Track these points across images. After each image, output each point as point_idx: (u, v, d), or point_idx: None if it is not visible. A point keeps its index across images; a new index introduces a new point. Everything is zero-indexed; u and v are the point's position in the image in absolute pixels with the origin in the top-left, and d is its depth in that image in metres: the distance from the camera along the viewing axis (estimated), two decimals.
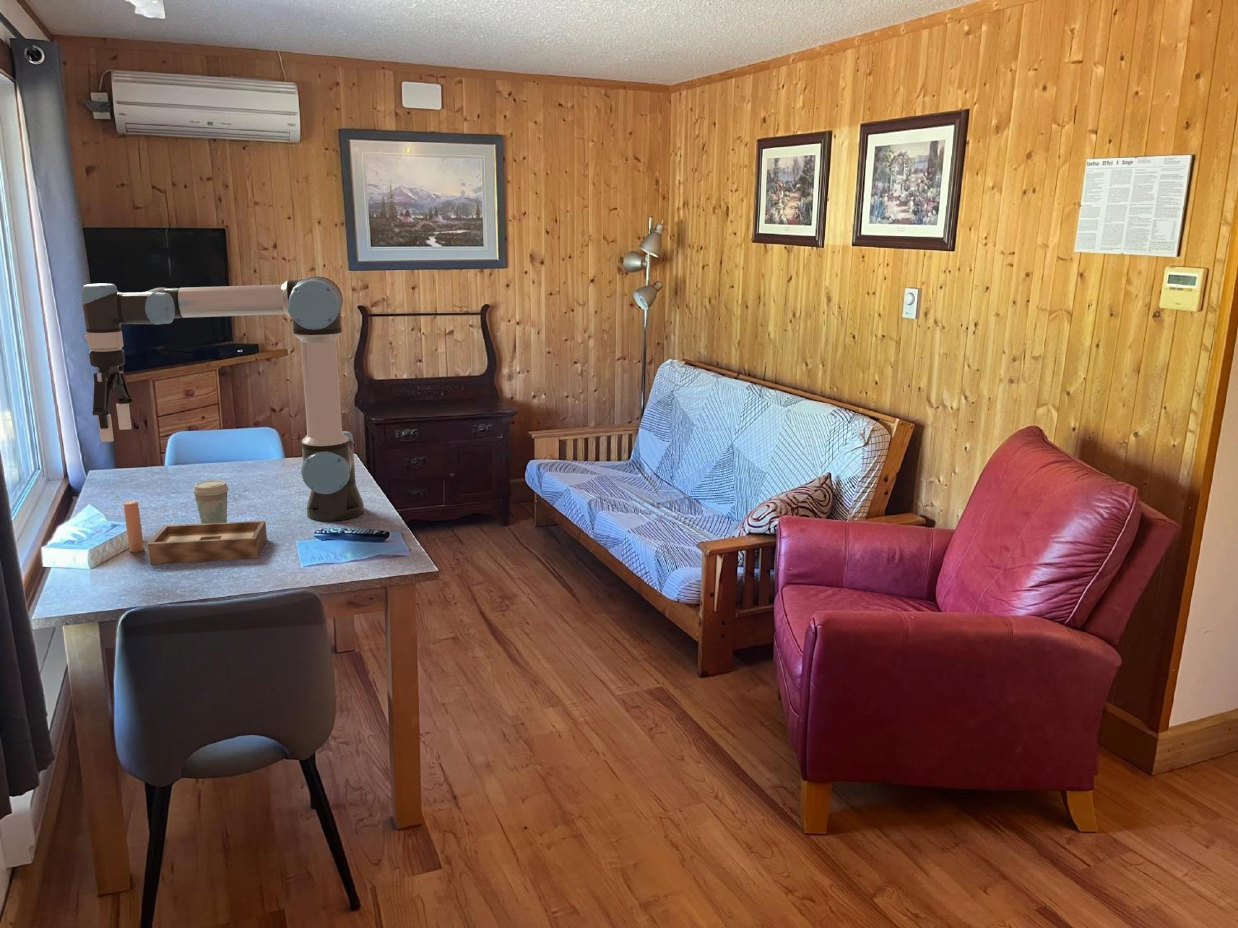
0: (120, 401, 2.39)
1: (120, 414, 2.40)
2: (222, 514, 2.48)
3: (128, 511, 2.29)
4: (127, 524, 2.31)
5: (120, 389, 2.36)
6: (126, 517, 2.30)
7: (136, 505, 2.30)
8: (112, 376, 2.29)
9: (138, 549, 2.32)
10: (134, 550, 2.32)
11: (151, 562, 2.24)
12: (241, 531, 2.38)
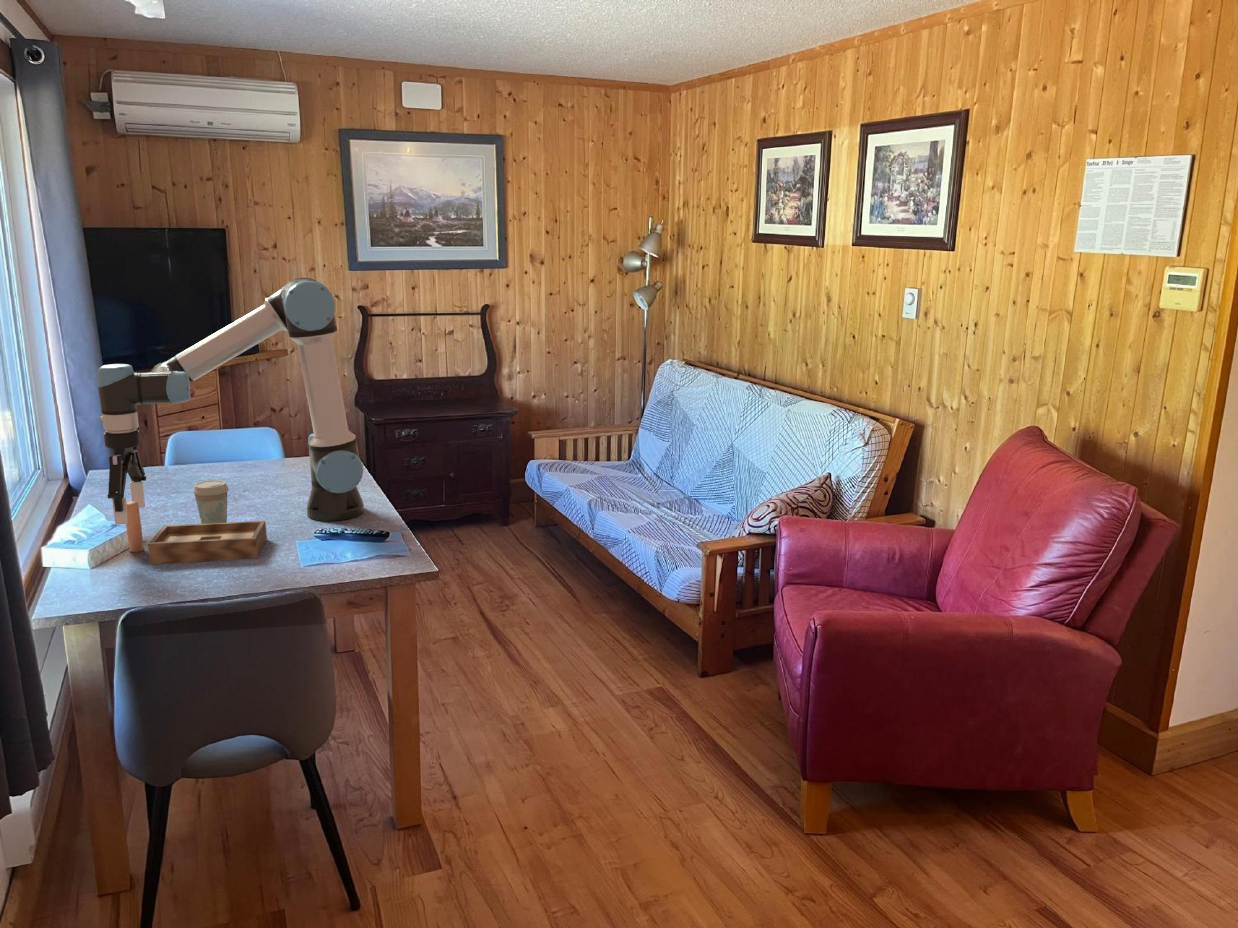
0: (134, 479, 2.36)
1: (134, 493, 2.36)
2: (222, 514, 2.48)
3: (128, 511, 2.29)
4: (127, 524, 2.31)
5: (134, 468, 2.33)
6: None
7: (136, 505, 2.30)
8: (128, 457, 2.26)
9: (138, 549, 2.32)
10: (134, 550, 2.32)
11: (151, 562, 2.24)
12: (241, 531, 2.38)
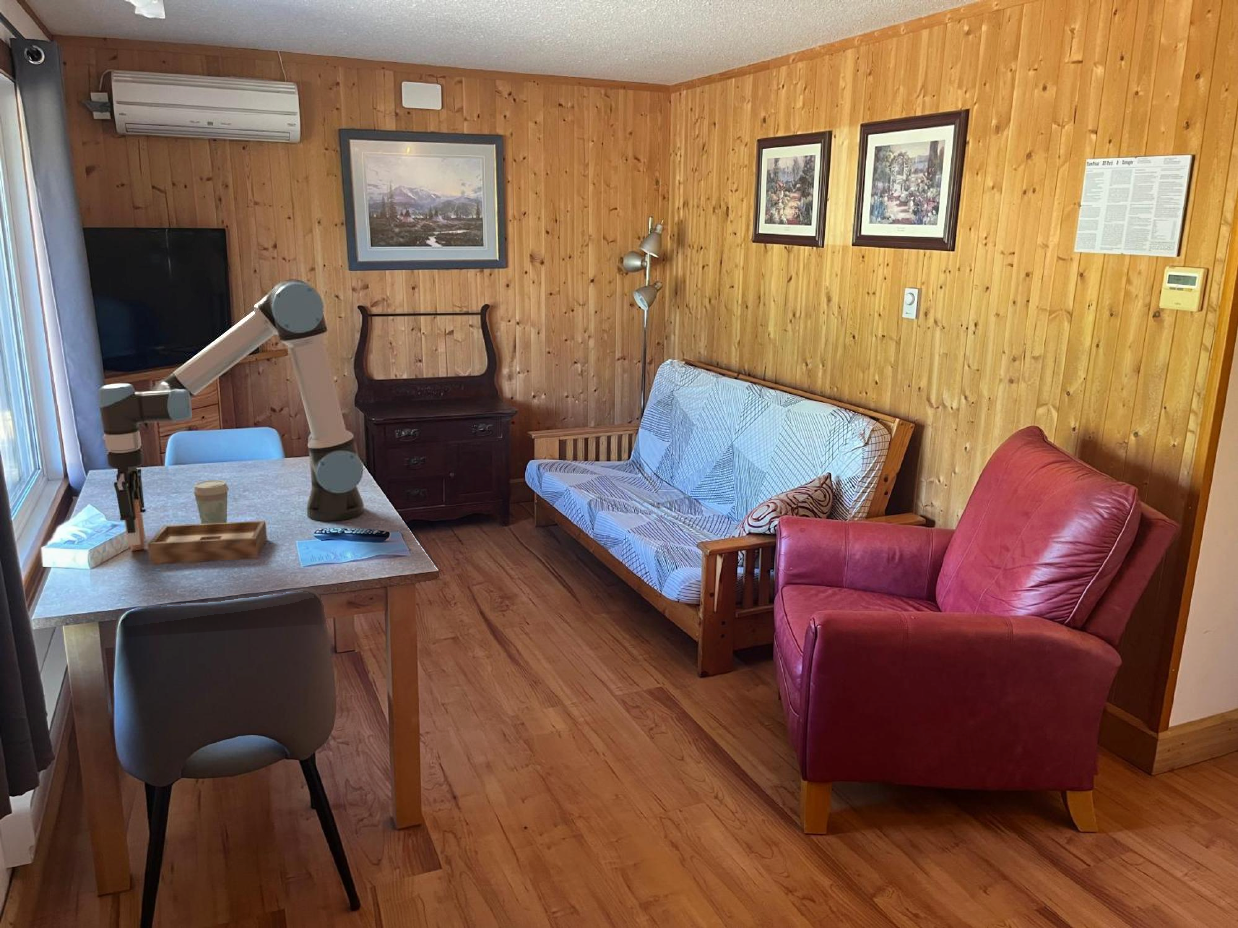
0: None
1: None
2: (222, 514, 2.48)
3: None
4: None
5: (135, 492, 2.32)
6: None
7: (137, 503, 2.30)
8: (131, 478, 2.27)
9: (139, 547, 2.32)
10: (135, 548, 2.32)
11: (151, 562, 2.24)
12: (241, 531, 2.38)
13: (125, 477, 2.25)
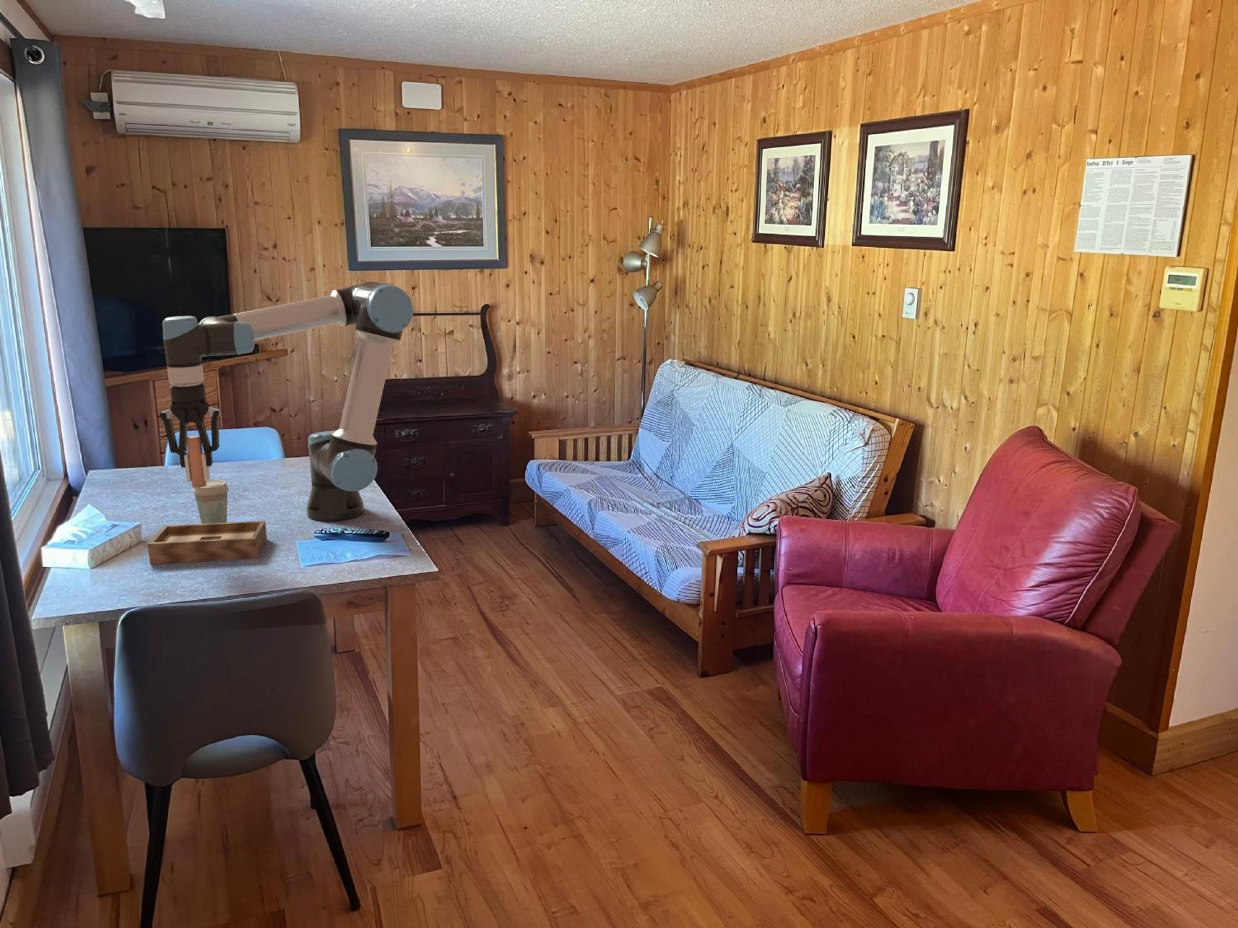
0: None
1: None
2: (222, 514, 2.48)
3: None
4: None
5: None
6: None
7: (189, 440, 2.25)
8: None
9: (192, 484, 2.28)
10: None
11: (151, 562, 2.24)
12: (241, 531, 2.38)
13: (170, 409, 2.23)
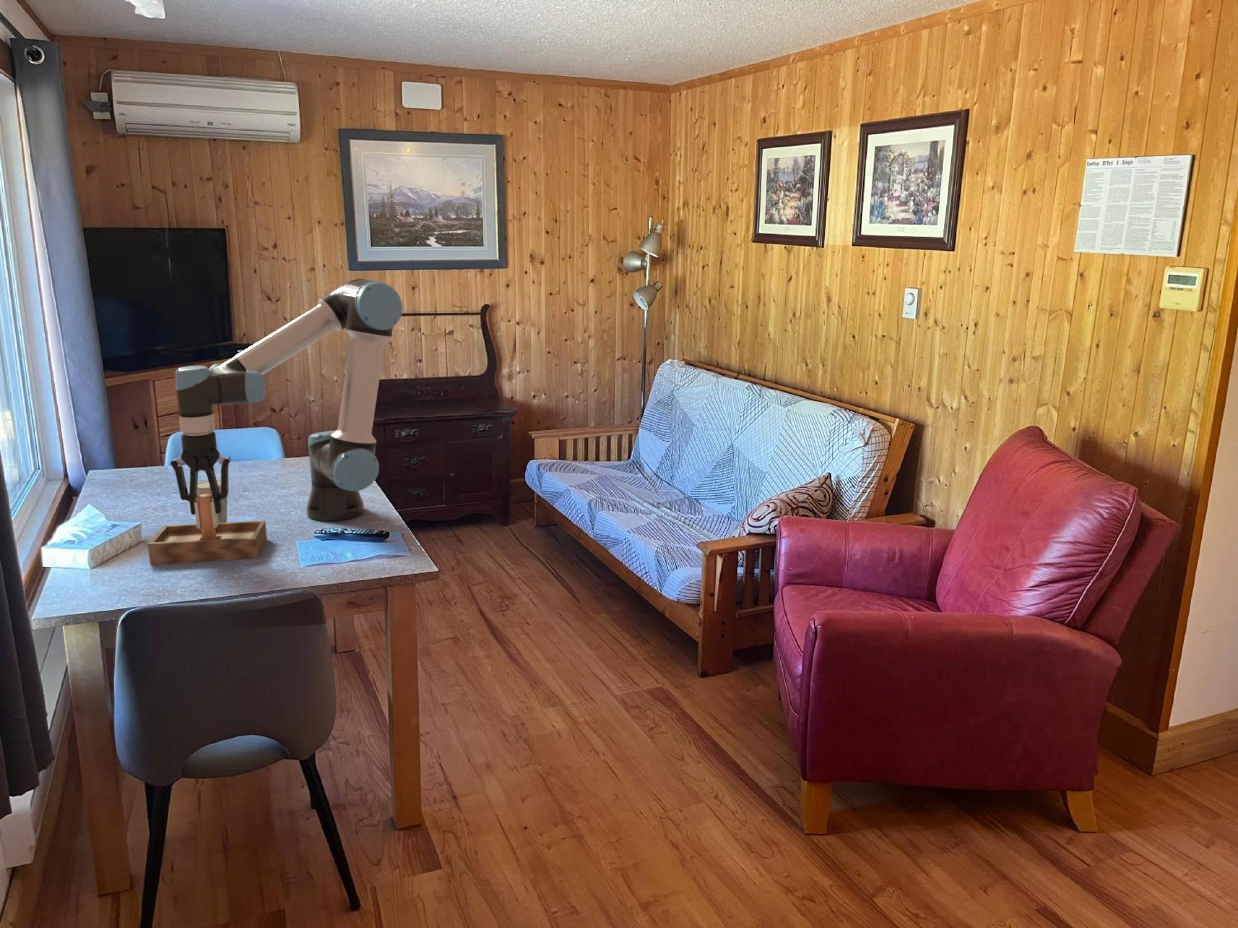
0: None
1: None
2: (222, 514, 2.48)
3: None
4: None
5: None
6: None
7: (200, 499, 2.28)
8: None
9: None
10: None
11: (151, 562, 2.24)
12: (241, 531, 2.38)
13: (181, 458, 2.26)
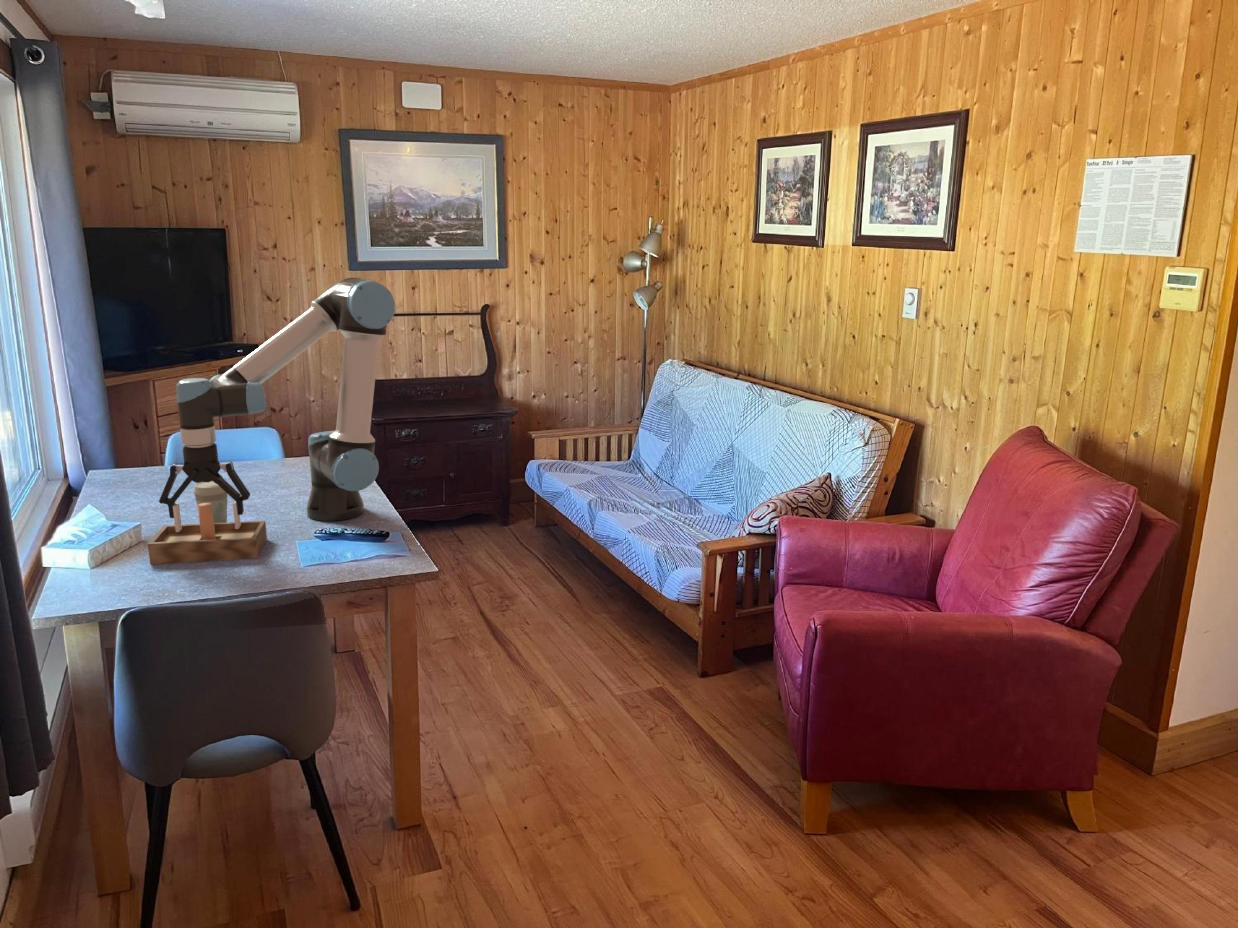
0: None
1: None
2: (222, 514, 2.48)
3: None
4: None
5: None
6: None
7: (200, 508, 2.29)
8: (191, 471, 2.26)
9: None
10: None
11: (151, 562, 2.24)
12: (241, 531, 2.38)
13: (182, 467, 2.26)
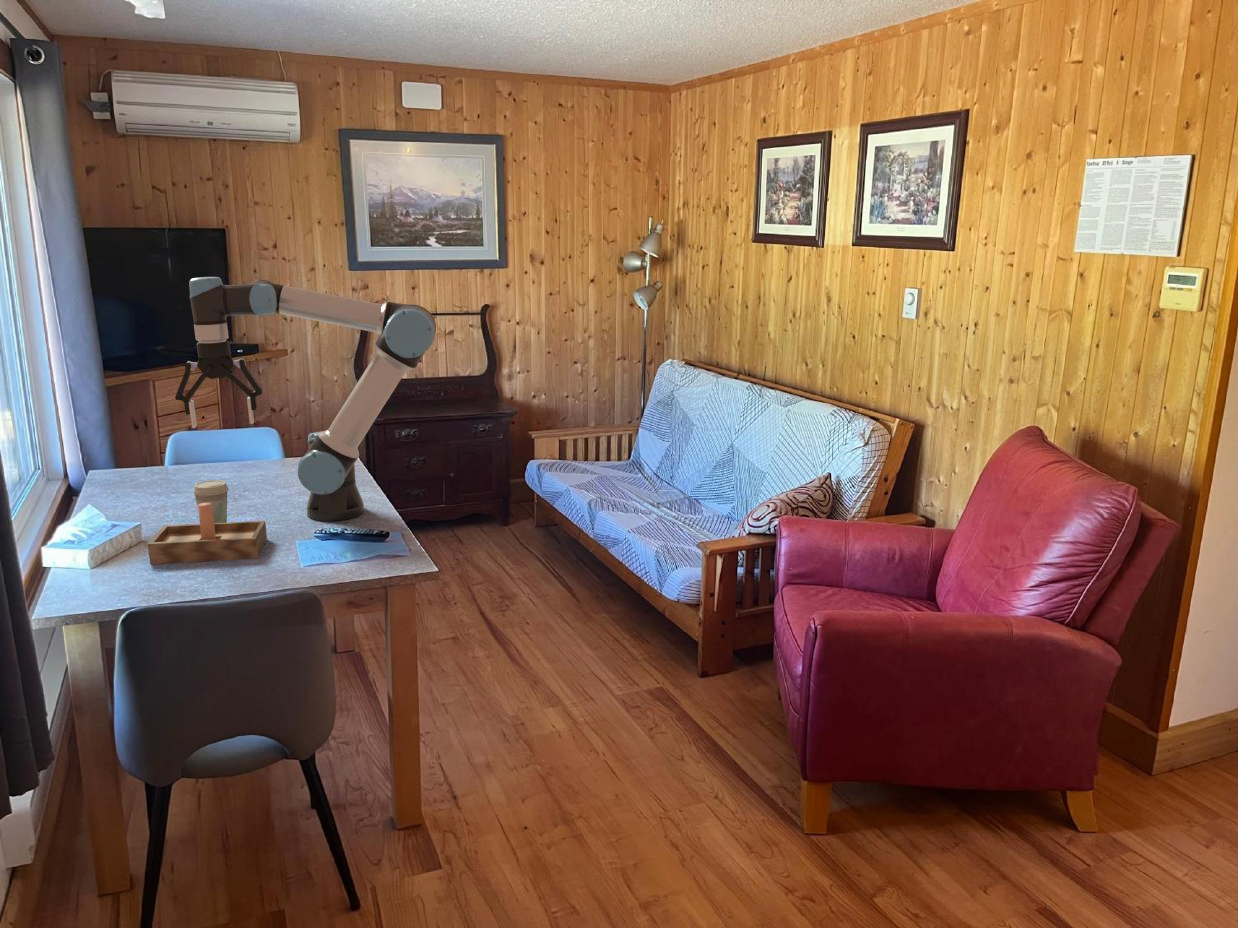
0: None
1: None
2: (222, 514, 2.48)
3: None
4: None
5: None
6: None
7: (200, 508, 2.29)
8: (206, 367, 2.35)
9: None
10: None
11: (151, 562, 2.24)
12: (241, 531, 2.38)
13: (197, 364, 2.35)
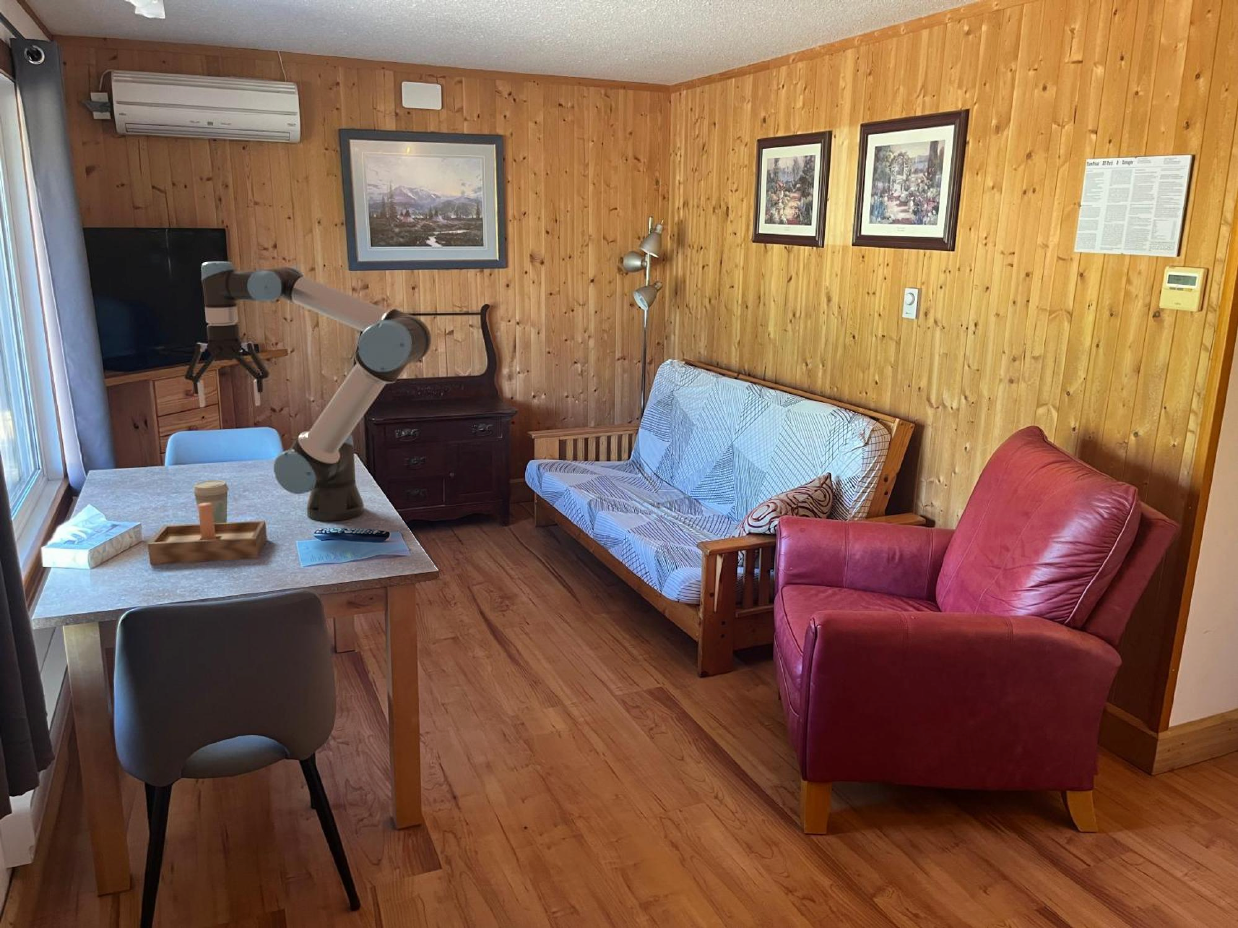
0: None
1: None
2: (222, 514, 2.48)
3: None
4: None
5: None
6: None
7: (200, 508, 2.29)
8: (215, 349, 2.42)
9: None
10: None
11: (151, 562, 2.24)
12: (241, 531, 2.38)
13: (206, 345, 2.42)
